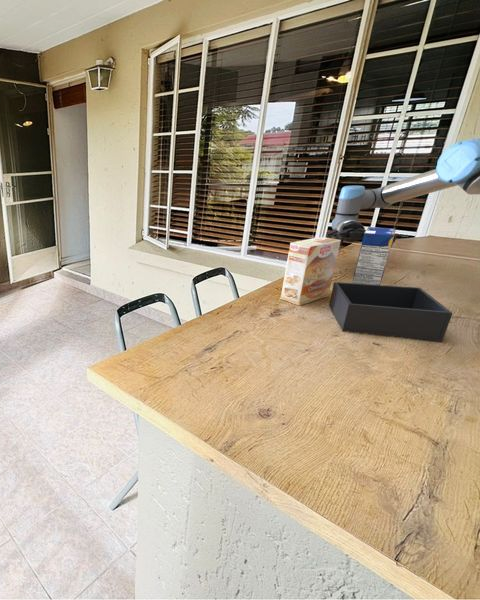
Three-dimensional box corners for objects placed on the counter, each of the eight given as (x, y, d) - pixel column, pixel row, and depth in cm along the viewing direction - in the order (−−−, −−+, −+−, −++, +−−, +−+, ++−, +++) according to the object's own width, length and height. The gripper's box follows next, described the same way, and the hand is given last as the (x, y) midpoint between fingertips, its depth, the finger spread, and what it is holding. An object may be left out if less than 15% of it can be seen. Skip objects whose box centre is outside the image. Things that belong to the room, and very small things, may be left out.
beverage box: (347, 300, 114) (364, 233, 105) (352, 290, 121) (368, 227, 113) (374, 304, 109) (393, 235, 101) (377, 294, 117) (396, 228, 108)
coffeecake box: (299, 306, 112) (310, 246, 104) (279, 299, 118) (288, 242, 111) (329, 296, 117) (342, 239, 110) (309, 290, 123) (319, 235, 116)
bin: (412, 313, 102) (420, 287, 100) (441, 342, 87) (452, 313, 84) (328, 305, 111) (333, 282, 108) (342, 331, 95) (348, 304, 92)
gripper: (388, 241, 132) (410, 255, 114) (310, 238, 142) (320, 251, 124) (393, 221, 129) (417, 232, 111) (314, 220, 139) (324, 230, 121)
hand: (366, 242), depth 118 cm, fingers open, 13 cm apart
